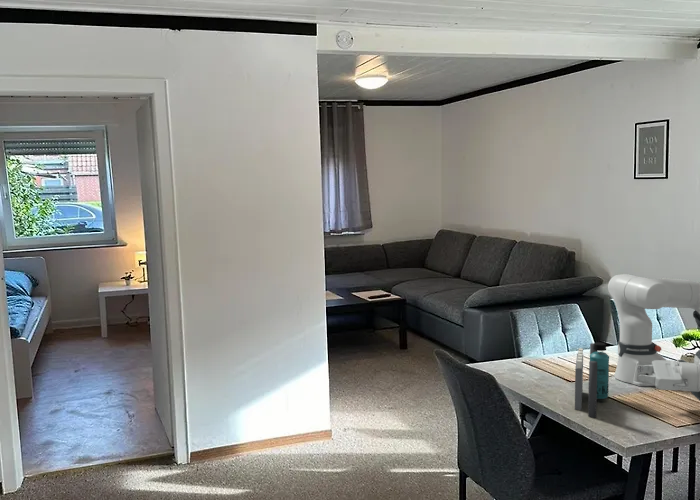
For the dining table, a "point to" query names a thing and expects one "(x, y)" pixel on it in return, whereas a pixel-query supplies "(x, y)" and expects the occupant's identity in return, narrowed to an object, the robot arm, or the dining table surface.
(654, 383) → the robot arm
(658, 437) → the dining table surface
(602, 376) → the beverage bottle
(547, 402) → the dining table surface
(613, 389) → the dining table surface
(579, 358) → the breaker panel
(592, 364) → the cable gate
